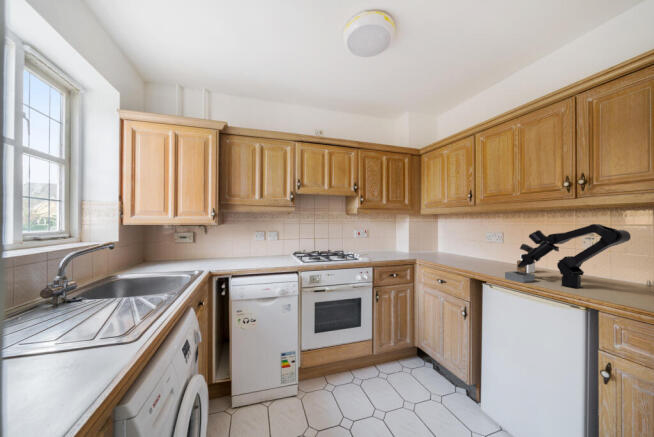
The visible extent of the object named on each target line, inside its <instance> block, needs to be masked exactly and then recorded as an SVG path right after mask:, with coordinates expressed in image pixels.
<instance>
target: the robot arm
mask: <svg viewBox="0 0 654 437" xmlns="http://www.w3.org/2000/svg"><path fill="white" fill-rule="evenodd" d="M591 234H596V235H597V236H600V238H599V240H598V241H596V242H595V243H593V244H592V245H590V246H588V247H587V248H585V249H584V250H582V251H580V252H579V253H577V254H576V255H574V256H573V255H572V256H571V255H570V256H567V255H566V256H563V257H562V258H561V259H558V262H557V263H556V266H557V269H558V270H559V273H560V275H562V276H561V284H560V286H562V287H565V288H566V287H567V288H572V289H581V288H583V285H582V283H581V282H582V276H583V275H584V273H585V272H584V271H583V269H582V268H581V266H582V265H583V263H585V262H587V261H588V260H590V259H591V258H594V257H595V256H597V255H598V254H601V253H602V252H604V251H606V250H607V249H609V248H611V247H615V246H618V245H620V244H624V243H626V242H629V241H630V240H631V233H630V232H629V231H627V230H625V229H616V228H613V227H610V226H609V227H608V226H605V225H603V224H600V223H599V224H598V223H592V224H589V225H587V226H584V227H583V226H582V227H579V228H576V229H573V230H569V231H566V232H557V233H551V234H550V233H549V234H548V235H547V236H546V235H545V234H544V233H543V232H542V231H541V230H540V229H539V230H536V231H534V232H532V233H530V234H529V235H528V238H529V239H530V240H531V241H532V242H533V243H534V244H535V245H538V246H535V247H532V246H530V245H528V244H525V243H522V244H521V245H520V247H519V249H520V250H521V251H524V252H527V253H523V254H524V255H522V256H521V257H522V258H523V260H522V261H521V262H520V263H519V264H518V267H522V266H526V265H531V264H533V263H535V264H536V263H537V262H539V261H540V260H541V259H542V258H543V257H545V256H546V255H548V254H549V253H551V252H552V251H555V252H560V250H559V248H560V246H558V245H563V244H566V243H567V242H569V241H572V240H573V239H576V238H581V237H584V236H588V235H591ZM556 245H557V246H556Z"/></svg>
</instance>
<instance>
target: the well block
mask: <svg viewBox="0 0 654 437" xmlns="http://www.w3.org/2000/svg"><path fill="white" fill-rule="evenodd" d="M504 279H505V280H509V281H514V282H518V283H523V284H526V283H531V282H535V274H534V273H525V272H519V271H517V270H513V271H505V272H504Z"/></svg>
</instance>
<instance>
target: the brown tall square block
mask: <svg viewBox="0 0 654 437" xmlns="http://www.w3.org/2000/svg"><path fill="white" fill-rule="evenodd" d="M520 262H521V260H519V259H518V260H516V271H519V272H525V273H527V265H526V266H522V267H518V264H519V263H520Z"/></svg>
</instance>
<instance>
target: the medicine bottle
mask: <svg viewBox="0 0 654 437" xmlns="http://www.w3.org/2000/svg"><path fill="white" fill-rule="evenodd" d="M524 254H525V253H521V254H520V260H521V261H522V260H523V258H522V257H521V256H522V255H524ZM535 272H536V262H535V263H533V264H531V265H527V273H530V274H534V273H535Z"/></svg>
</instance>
